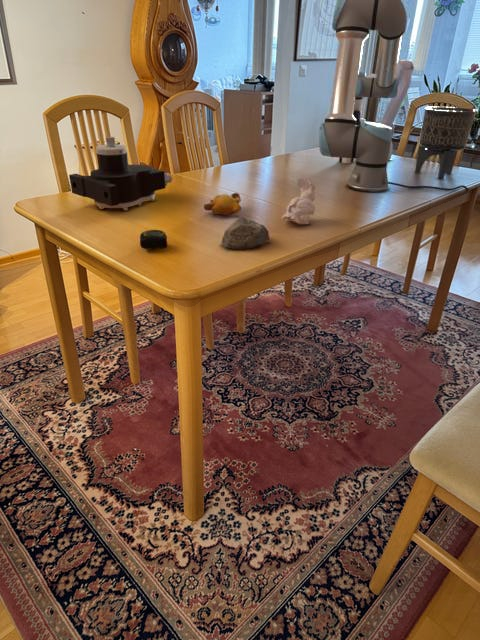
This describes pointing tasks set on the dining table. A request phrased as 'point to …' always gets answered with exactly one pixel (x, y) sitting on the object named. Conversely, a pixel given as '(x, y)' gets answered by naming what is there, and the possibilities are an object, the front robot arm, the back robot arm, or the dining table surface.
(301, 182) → the figurine
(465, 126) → the planter
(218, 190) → the dining table surface
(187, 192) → the dining table surface
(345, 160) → the canister
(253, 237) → the rock
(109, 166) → the mechanical component
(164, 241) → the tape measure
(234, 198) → the toy
